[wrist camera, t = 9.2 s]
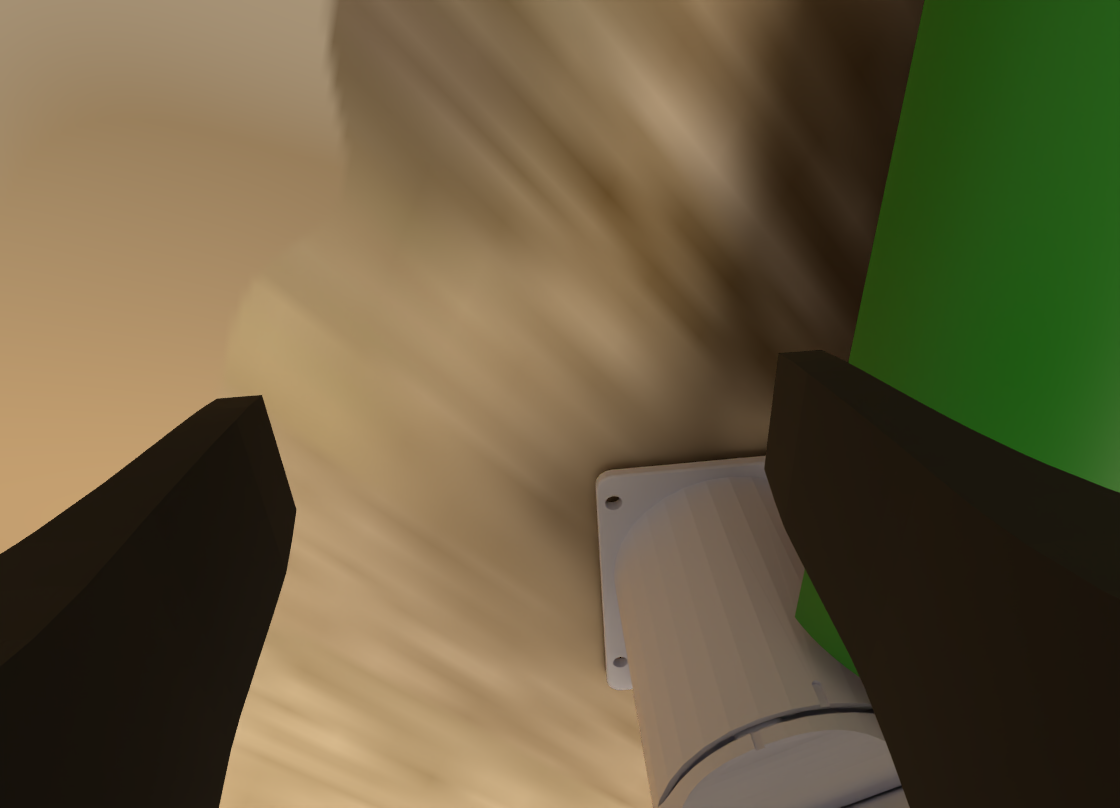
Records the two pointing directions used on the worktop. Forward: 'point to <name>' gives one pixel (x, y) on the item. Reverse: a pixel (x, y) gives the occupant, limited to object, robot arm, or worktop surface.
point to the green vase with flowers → (1002, 238)
